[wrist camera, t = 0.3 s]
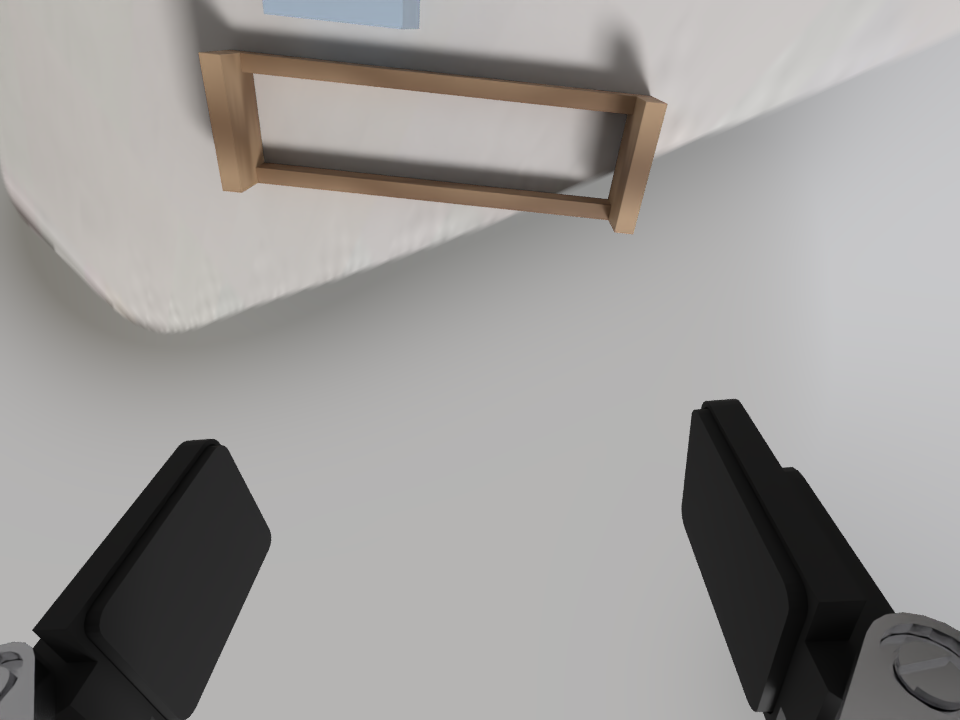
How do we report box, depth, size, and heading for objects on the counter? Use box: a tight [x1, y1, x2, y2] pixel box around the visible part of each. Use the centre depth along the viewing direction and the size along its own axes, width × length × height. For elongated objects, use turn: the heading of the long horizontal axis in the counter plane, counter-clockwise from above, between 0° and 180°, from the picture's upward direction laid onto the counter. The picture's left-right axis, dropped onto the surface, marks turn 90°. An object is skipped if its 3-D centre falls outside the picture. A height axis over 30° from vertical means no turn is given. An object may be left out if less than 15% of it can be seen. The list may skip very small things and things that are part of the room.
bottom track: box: [199, 50, 667, 234], centre depth 33 cm, size 8×26×4 cm, turn 85°
